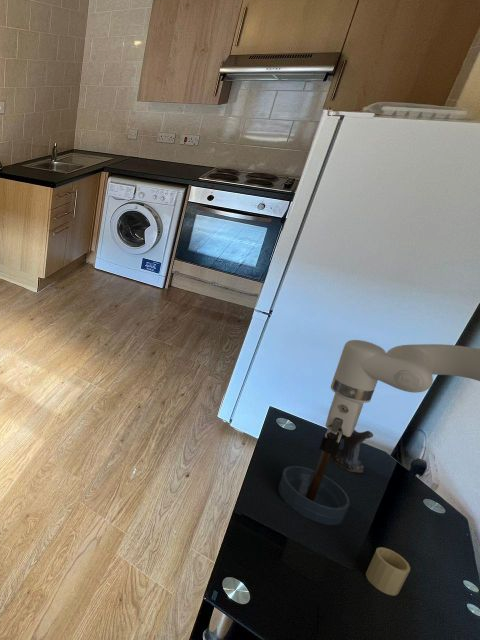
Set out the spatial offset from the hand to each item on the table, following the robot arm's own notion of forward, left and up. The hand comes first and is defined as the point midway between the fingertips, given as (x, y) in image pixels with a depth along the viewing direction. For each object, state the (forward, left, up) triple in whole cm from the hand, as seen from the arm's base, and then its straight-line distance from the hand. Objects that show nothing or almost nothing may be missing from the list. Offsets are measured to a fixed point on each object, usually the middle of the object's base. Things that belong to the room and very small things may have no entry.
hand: (332, 443), depth 106 cm
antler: (-20, -18, -21) cm, 34 cm away
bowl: (0, 0, -21) cm, 21 cm away
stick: (0, 0, -20) cm, 20 cm away
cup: (-2, +21, -21) cm, 29 cm away
